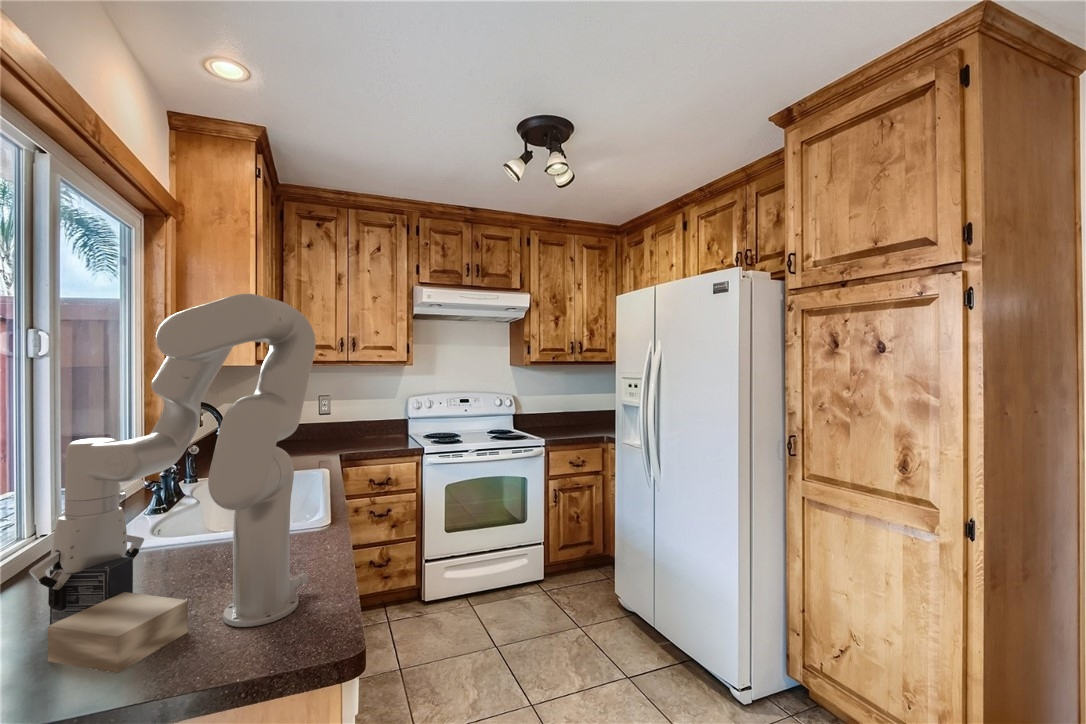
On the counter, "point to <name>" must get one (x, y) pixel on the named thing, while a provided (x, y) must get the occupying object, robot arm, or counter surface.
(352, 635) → the counter surface
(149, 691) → the counter surface
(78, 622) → the birch block
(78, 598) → the small box
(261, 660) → the counter surface
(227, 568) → the counter surface
